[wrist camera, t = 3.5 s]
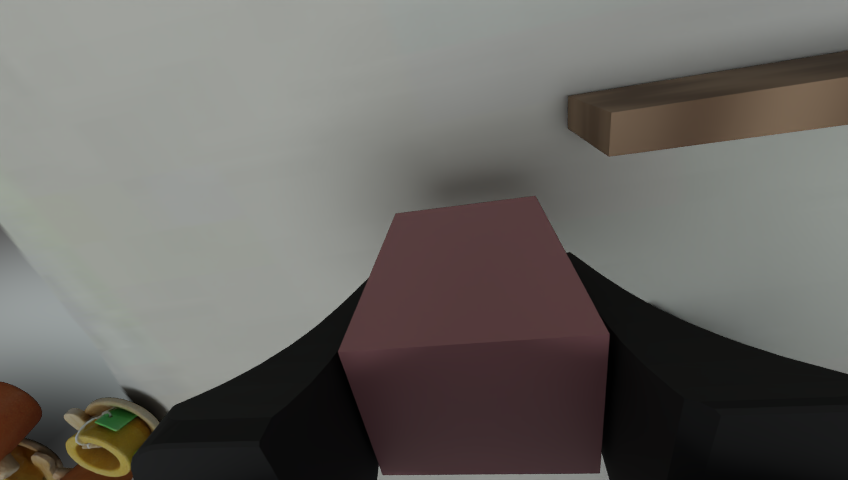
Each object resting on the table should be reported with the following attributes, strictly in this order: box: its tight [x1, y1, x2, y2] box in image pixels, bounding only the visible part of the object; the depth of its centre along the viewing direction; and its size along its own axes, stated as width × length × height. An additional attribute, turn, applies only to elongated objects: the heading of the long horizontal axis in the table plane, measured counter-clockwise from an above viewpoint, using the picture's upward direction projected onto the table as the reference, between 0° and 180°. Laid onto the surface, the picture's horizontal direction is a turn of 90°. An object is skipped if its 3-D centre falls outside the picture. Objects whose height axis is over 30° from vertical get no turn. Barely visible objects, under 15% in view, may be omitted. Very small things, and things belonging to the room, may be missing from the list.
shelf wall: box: [568, 51, 848, 157], centre depth 13 cm, size 18×2×6 cm, turn 100°
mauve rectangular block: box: [338, 196, 610, 475], centre depth 11 cm, size 5×4×7 cm
